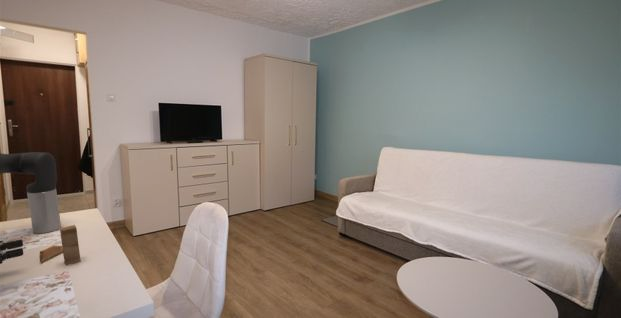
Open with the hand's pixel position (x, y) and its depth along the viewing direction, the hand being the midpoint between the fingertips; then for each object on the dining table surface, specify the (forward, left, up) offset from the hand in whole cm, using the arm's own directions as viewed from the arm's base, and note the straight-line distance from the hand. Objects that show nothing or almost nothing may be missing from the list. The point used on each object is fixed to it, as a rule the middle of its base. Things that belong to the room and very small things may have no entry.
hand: (22, 246), depth 95 cm
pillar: (0, +11, -9) cm, 15 cm away
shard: (-11, +7, -10) cm, 16 cm away
